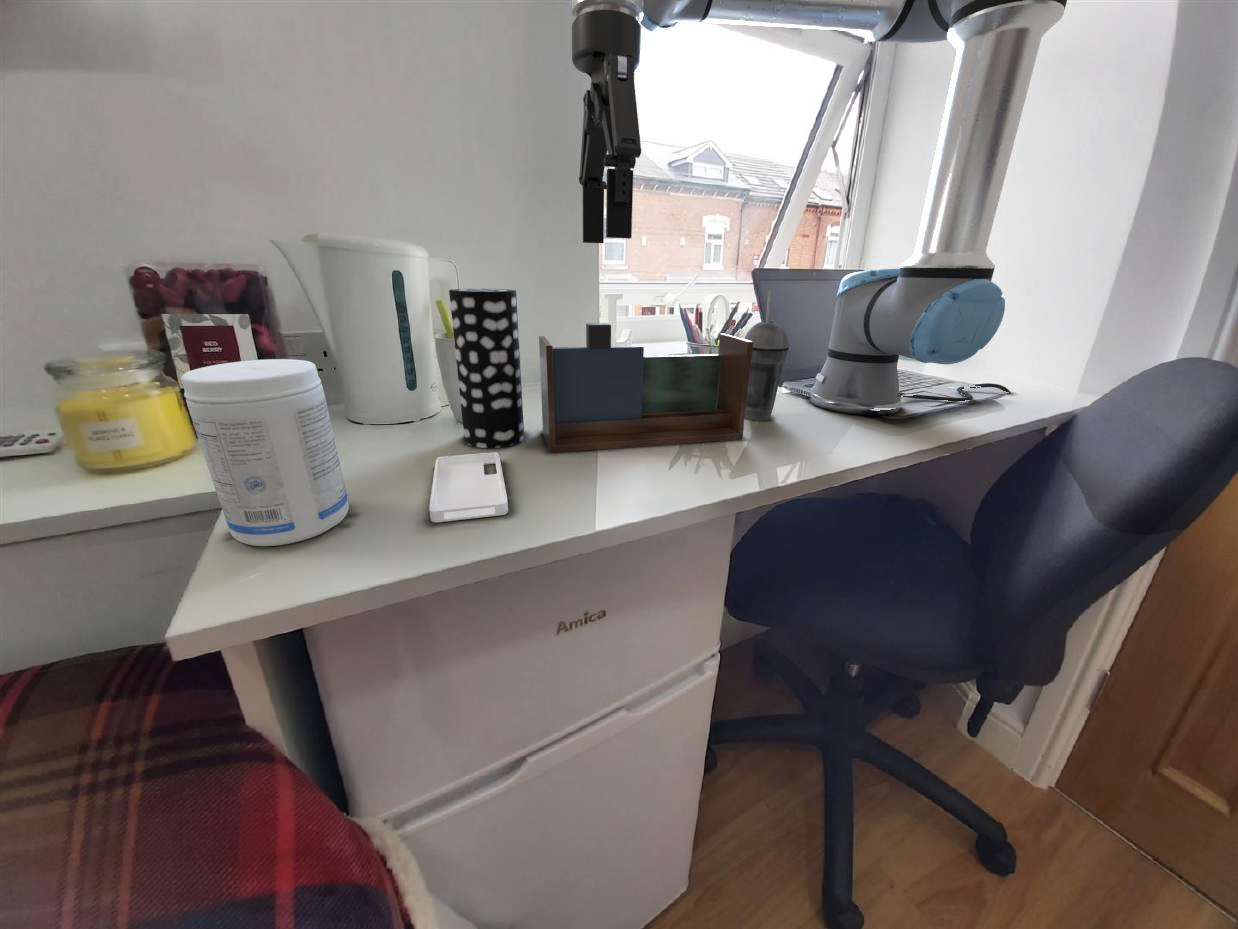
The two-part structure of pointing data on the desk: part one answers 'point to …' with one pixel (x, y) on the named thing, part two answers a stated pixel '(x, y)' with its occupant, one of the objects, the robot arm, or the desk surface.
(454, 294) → the white-spotted black cylinder
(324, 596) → the desk surface
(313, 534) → the supplement tub
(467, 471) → the phone case
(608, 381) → the book
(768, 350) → the beverage cup
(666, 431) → the wooden desk organizer
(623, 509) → the desk surface
